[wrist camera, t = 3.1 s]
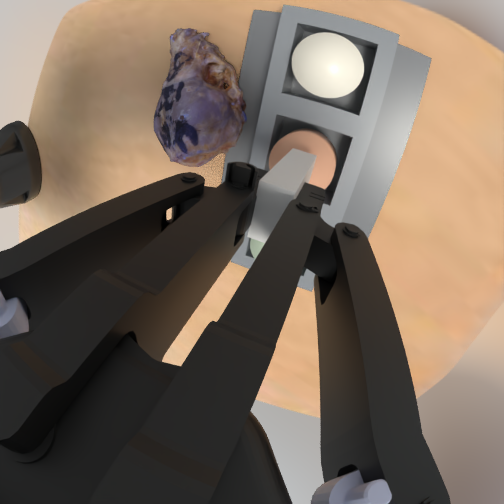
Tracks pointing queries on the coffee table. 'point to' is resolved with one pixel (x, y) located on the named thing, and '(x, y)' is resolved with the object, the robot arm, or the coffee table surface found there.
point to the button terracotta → (311, 144)
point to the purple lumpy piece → (198, 102)
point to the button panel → (330, 111)
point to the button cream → (327, 65)
